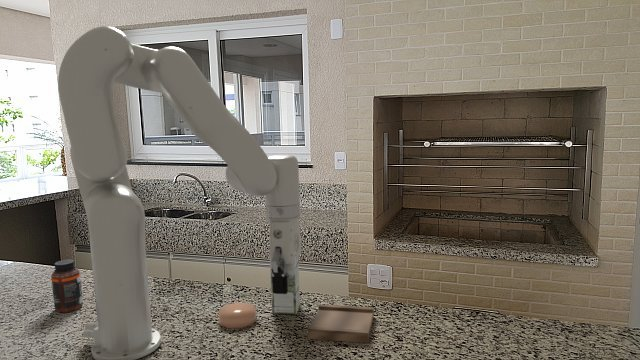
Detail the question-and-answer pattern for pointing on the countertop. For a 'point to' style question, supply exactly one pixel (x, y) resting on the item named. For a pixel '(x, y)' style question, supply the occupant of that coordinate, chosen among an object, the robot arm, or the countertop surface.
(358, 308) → the brown flat square block
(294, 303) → the syrup box
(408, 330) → the countertop surface
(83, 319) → the countertop surface
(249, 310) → the peach smooth rounded part
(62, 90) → the robot arm
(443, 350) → the countertop surface
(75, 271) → the supplement bottle
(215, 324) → the countertop surface
